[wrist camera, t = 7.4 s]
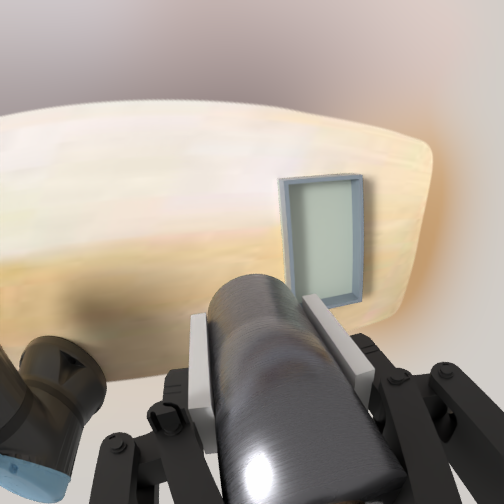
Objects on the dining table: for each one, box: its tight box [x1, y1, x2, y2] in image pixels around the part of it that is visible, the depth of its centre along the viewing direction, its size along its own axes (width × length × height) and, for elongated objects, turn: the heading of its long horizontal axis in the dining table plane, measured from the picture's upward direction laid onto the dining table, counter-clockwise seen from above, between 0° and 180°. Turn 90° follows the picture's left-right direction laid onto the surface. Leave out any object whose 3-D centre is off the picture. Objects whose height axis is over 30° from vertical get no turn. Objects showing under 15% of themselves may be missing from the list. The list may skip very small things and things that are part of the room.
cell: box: [207, 274, 408, 504], centre depth 11 cm, size 5×5×13 cm
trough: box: [277, 173, 364, 309], centre depth 39 cm, size 10×17×3 cm, turn 6°
